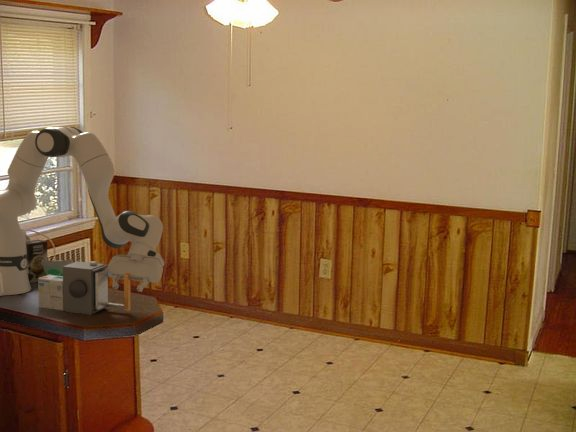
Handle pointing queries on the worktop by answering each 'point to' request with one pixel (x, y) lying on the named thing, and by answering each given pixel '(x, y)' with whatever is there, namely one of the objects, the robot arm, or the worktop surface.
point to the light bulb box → (51, 292)
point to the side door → (102, 291)
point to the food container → (55, 266)
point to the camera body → (80, 287)
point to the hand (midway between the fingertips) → (126, 289)
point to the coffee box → (35, 259)
